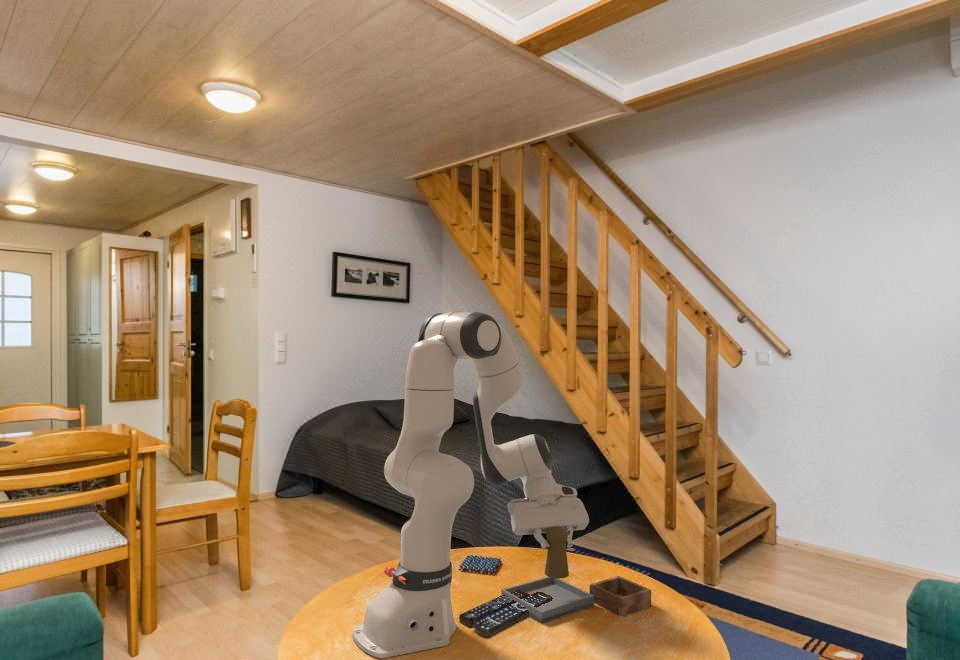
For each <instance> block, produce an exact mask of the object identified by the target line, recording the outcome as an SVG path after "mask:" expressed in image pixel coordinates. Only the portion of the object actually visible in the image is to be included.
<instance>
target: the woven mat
mask: <svg viewBox="0 0 960 660" xmlns="http://www.w3.org/2000/svg"><path fill="white" fill-rule="evenodd" d="M501 559H502V558H498V557H492V556H485V557H484V556H482V555H473V554H470V555H467V556H466V557H465V559H464V560H463V561H462V563H460V565H459V568H458V569H459V572H465V573H473V574H476V575H477V574H478V575H479V574H484V575H488V576H490V575H491V574H492V576H495V575H496V573H497V572H498V570H499V568H500V567H501V566H502V562H503V560H501Z"/></svg>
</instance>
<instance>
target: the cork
mask: <svg viewBox="0 0 960 660" xmlns="http://www.w3.org/2000/svg"><path fill="white" fill-rule="evenodd" d="M567 539H568V534H567V532H566V530H564V529H562V528H550V529H549V530H548V531H547V533H546V540H548V541H549V544H550V547H549V549H547V554H546V561H545V566H544V567H545V569H544V572H543V573H544V575H545V576H546V577H551V578H557V579H566V578H568V577H569V576H570V572H569V563H568V562H569V561H568V553H567V547H566V544H565V543H566V542H567Z"/></svg>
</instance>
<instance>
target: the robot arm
mask: <svg viewBox="0 0 960 660" xmlns="http://www.w3.org/2000/svg"><path fill="white" fill-rule="evenodd" d="M498 323H499V322H497V320H496V319H495V318H494V317H493V316H491V315H489V314H488V313H484V312H480V311H478V312H477V311H476V312H475V311H474V312H469V311H468V312H467V311H459V310H458V311H449V312H439V313H436V314H433V315H432V314H431V315H430V316H428V317H427V318H426V319H425V320H424V321H423V322H422V324H421V326H420V329H419V332H418V338H417V339H418V340H417V342H415V343H414V344H413V345H412V346H411V347H410V352H409V355H408V360H407V364H406V371H405V378H404V379H405V380H404V381H405V382H404V402H403V403H404V407H403V420H402V427H401V431H400V435H399V438H398V441H397V444H396V446H395V448H394V449H393V450H392V452H390V454H388V456H387V457H386V460H385V463H384V467H383V473H384V477H385V480H386V481H387V483H388V484H389V485H390V486H391V487H392V488H394V489H395V490H396V491H397V492H399V493H401V494H403V495H405V496H408V497H409V498H410V497H411V498H414V509H413V511H412V515H411V517H410V519H408V520H407V521H406V522H405V523H404V524H403V526H402V527H401V532H400V556H399V557H400V561H399V562H398V564H397V567H396V569H395V568H394V567H393V566H391V565H388V564H387V565H386V566H385V567H384V568H383V574H385V576H388V577H389V578H392V582H390V583H389V584H388V585H387V586H386V587H385V588H384V589H383V590H382V591H381V592H380V593H379V594H378V595H377V596H376V597H374V599H372V600H371V601H370V602H369V604H368V605H367V607H366V609H365V614H364V617H363V623H360V624H358V625H356V626H354V627H353V631H352V639H353V641H354V643H355V644H356V645H357V647H359V648H360V649H361V650H362V651H363V652H364V653H366V654H368V655H370V656H372V657H375V658H378V659H385V658H390V657H395V656H401V655H405V654H411V653H416V652H420V651H421V652H422V651H426V650H431V649H435V648H441V647H445V646H449V644H450V642H451V637H452V635H454V633H455V631H456V629H457V624H456V622H455V617H454V612H453V603H452V596H451V595H452V594H451V593H452V592H451V584H452V578H453V564H452V561H451V545H452V544H451V543H452V542H451V541H452V532H453V525H454V521H455V519H456V516H457V512H458V511H459V509H460V508H461V507H462V506H464V504H465V503H467V501H469V499H470V497H471V496H472V494H473V491H474V487H475V476H474V473H473V470H472V468H471V467H470V466H469V465H468V464H467V463H465V462H463V461H462V460H461V459H459V458H457V457H456V456H453V455H450V454H447V453H442V452H440V445H441V441H442V438H443V436H444V434H445V433H446V432H447V431H448V430H449V429H450V428H451V427H452V425H453V423H454V413H455V412H454V411H455V372H454V370H455V366H456V363H457V361H459V360H470V359H471V360H472V361H473V364H474V368H475V372H476V374H477V377H478V388H477V391H476V392H475V393H474V394H473V397H472V407H473V412H474V413H473V414H474V422H475V426H476V427H475V428H476V433H477V438H478V439H477V440H478V446H479V451H480V471H481V472H482V475H483V477H484V480H485V481H486V482H487V483H489V484H491V485H493V486H497V487H500V486H502V485H506V484H507V483H510V482H511V481H514V480H517V479H520V481H521V482H522V484H523V493H524V496H525V497H522V498H512V499H511V500H509V501H508V502H507V504H506V507H507V511H508V514H509V515H510V523H511V529H512V532H513V534H515V535H516V536H523V535H524V536H525V535H527V536H529V535H533V537H534V538H535V540H536V541H537V542H538V543H539V544H540V547H541V549H542V550H548V549H549V547H550V544H549V541H548V540H547V539H545V538H544V536H543V535H542V534H547V531H548V530H549V529H550V528H562V529H564V530H566V532H567V534H568V539H567V542H566V543H565V544H566V548H572V547H573V545H574V542H573V539H572V538H573V534H574V531H583V530H585V529H586V528H587V526H588V525H589V523H590V518H589V514H588V512H587V510H586V508H585V504H584V503H583V501H582V500H581V499H580V498H578V497H577V496H578V491H577V489H576V488H575V487H570V486H567V485H564V484H563V485H562V484H560V483H558V482H556V480H555V478H554V477H553V475H552V468H553V465H554V462H555V461H554V458H553V457H552V455H551V450H550V447H549V443H548V441H547V439H546V438H544V437H543V436H541V435H539V434H536V433H534V434H528V435H525V436H522V437H520V438H519V437H518V438H516V439H515V440H510V441H507V442H505V443H504V442H503V443H502V444H495V441H494V435H493V428H492V420H493V417H494V416H495V414H496V413H497V412H498V411H499V410H500V409H501V408H502V407H504V406H505V405H507V404H508V403H509V402H510V401H512V400H513V399H514V398H515V397H516V396H517V395H518V393H519V391H521V388H522V386H523V383H524V374H523V368H522V365H521V362H520V358H519V356H518V353H517V351H516V347H515V345H514V344H513V342H512V340H511V338H510V336H509V334H508V333H507V331H506V329H505V328H504V327H503V326H502V325H500V324H498Z"/></svg>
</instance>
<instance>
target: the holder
mask: <svg viewBox="0 0 960 660" xmlns="http://www.w3.org/2000/svg"><path fill="white" fill-rule="evenodd" d="M589 593H590V594H592V595H594V605H597V606H599V607H601V608H603V609H605V610H607V611H610V612H611V613H613V614H615V615H617V616H619V617H622V618H623V617H626V616H629V615H632V614H634V613H637V612H640V611H642V609H643V610H645V609H647V607H648V608H650V606H651V607H652V589H650V588H648V587H646V586H644V585H641V584H639V583H637V582H634V581H632V580H629V579H627V578H624V577H622V576H620V575H616V576H612V577H609V578H607V579H604V580H599V581H596V582H593V583H590V584H589ZM618 593H619V594H618ZM620 594H621V595H620Z"/></svg>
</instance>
